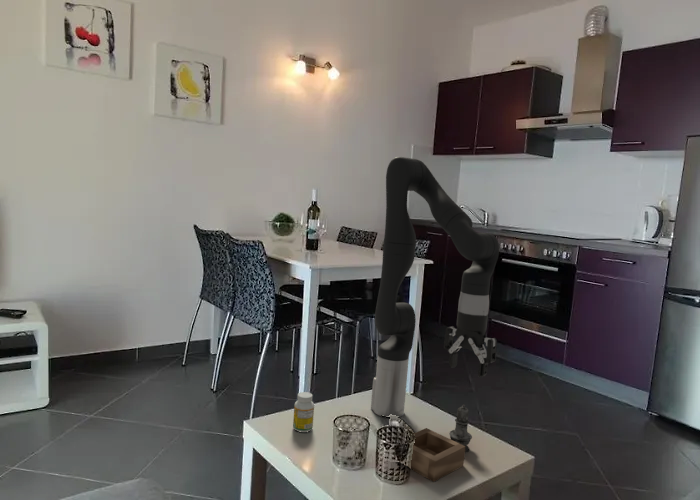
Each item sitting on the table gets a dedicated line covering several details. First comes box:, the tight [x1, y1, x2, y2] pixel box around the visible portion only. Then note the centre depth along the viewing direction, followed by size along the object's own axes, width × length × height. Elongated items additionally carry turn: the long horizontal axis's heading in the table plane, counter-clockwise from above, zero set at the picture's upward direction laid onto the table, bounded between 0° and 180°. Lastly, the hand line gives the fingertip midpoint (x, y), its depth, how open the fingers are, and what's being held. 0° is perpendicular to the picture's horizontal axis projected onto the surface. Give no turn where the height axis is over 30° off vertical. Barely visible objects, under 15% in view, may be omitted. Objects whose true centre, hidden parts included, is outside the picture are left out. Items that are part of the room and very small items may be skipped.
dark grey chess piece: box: [448, 403, 473, 454], centre depth 135 cm, size 6×6×12 cm
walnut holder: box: [410, 427, 466, 483], centre depth 127 cm, size 12×12×5 cm
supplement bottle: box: [292, 391, 315, 433], centre depth 139 cm, size 5×5×10 cm
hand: (466, 371), depth 134 cm, fingers open, 8 cm apart
